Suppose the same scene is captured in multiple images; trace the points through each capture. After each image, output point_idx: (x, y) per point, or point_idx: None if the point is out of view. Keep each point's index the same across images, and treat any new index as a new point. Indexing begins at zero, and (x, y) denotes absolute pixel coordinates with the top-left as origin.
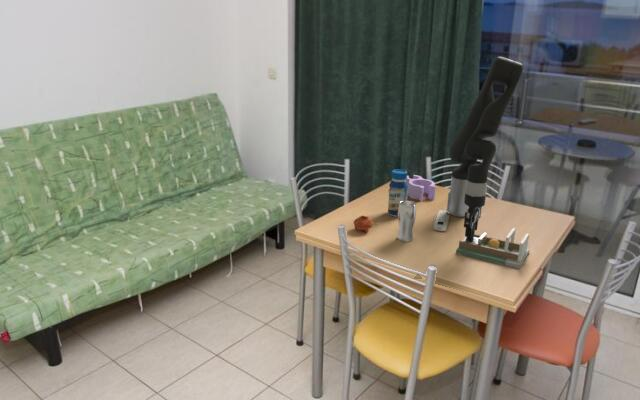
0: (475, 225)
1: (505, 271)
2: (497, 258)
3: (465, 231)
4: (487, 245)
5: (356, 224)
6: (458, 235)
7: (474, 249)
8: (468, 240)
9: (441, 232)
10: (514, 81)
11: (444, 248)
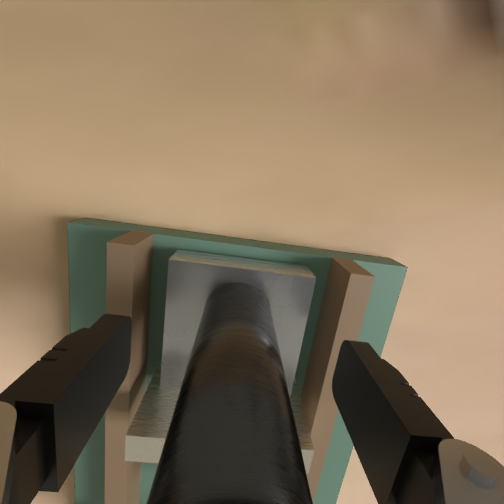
0: (358, 426)
1: None
2: (87, 475)
3: (69, 347)
4: None
5: None
6: (430, 174)
7: None
8: (198, 307)
9: (460, 9)
10: None
11: (123, 112)
